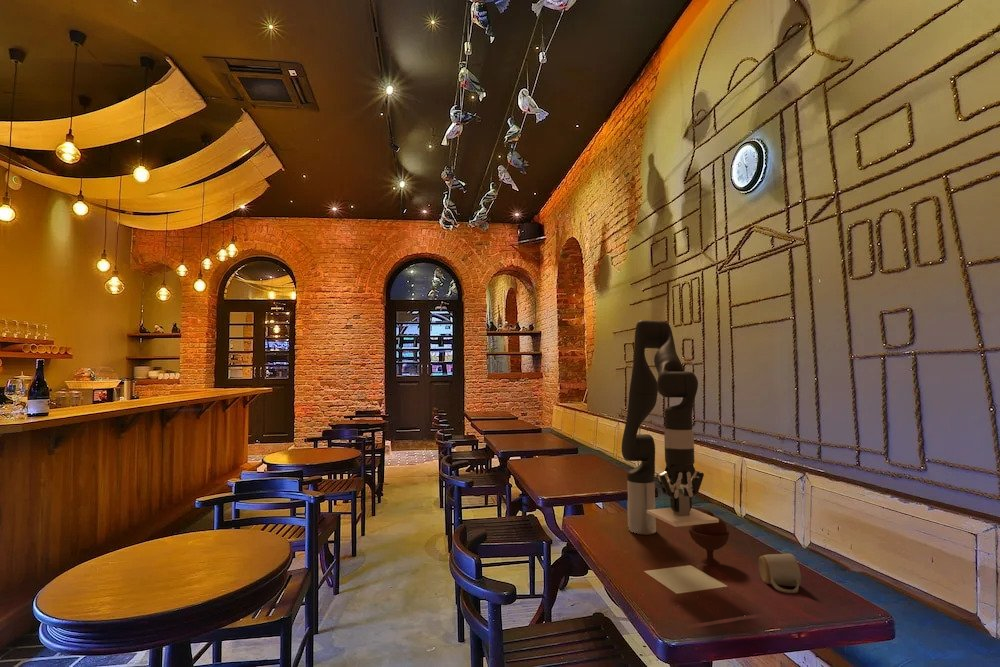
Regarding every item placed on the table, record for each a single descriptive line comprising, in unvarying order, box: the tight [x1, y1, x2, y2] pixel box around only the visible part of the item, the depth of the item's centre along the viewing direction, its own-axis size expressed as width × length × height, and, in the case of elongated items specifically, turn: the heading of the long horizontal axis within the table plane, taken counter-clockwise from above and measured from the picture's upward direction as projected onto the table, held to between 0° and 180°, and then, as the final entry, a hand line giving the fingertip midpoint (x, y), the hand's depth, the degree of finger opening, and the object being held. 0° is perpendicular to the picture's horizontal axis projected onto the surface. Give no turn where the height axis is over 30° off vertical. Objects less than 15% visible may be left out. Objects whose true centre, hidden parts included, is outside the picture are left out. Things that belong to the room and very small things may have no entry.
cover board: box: [647, 493, 719, 528], centre depth 135 cm, size 13×13×6 cm
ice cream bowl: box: [688, 508, 730, 566], centre depth 146 cm, size 11×11×15 cm
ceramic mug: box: [757, 553, 802, 594], centre depth 130 cm, size 11×8×8 cm
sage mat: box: [643, 564, 728, 595], centre depth 134 cm, size 15×15×1 cm
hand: (681, 510), depth 135 cm, fingers closed on cover board, 3 cm apart
